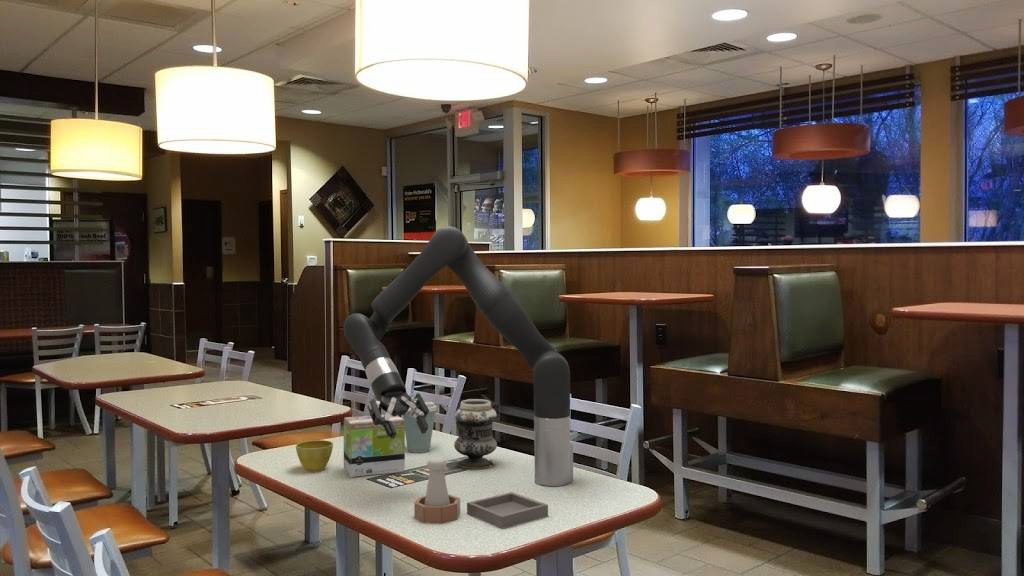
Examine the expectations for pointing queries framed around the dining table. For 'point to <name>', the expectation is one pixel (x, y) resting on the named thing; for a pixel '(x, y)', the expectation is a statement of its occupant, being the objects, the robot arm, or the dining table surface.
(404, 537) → the dining table surface
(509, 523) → the tray
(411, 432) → the disposable coffee cup
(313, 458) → the flower pot
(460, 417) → the apothecary jar
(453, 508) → the cup ring
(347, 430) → the tea box
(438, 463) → the salt shaker
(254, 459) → the dining table surface
